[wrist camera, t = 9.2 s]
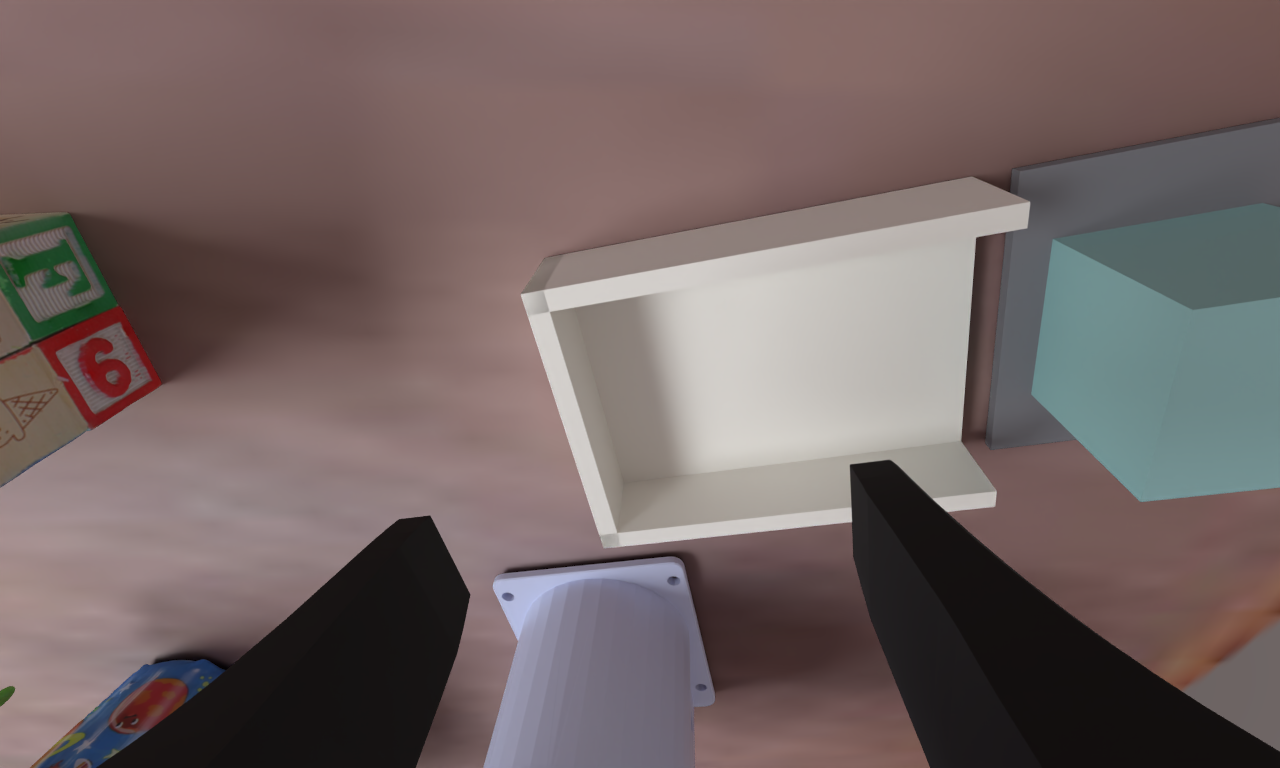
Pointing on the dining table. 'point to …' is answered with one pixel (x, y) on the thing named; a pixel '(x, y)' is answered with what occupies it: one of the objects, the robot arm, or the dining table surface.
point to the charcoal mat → (1100, 200)
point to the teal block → (1169, 351)
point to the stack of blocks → (59, 342)
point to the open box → (769, 361)
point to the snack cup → (127, 712)
